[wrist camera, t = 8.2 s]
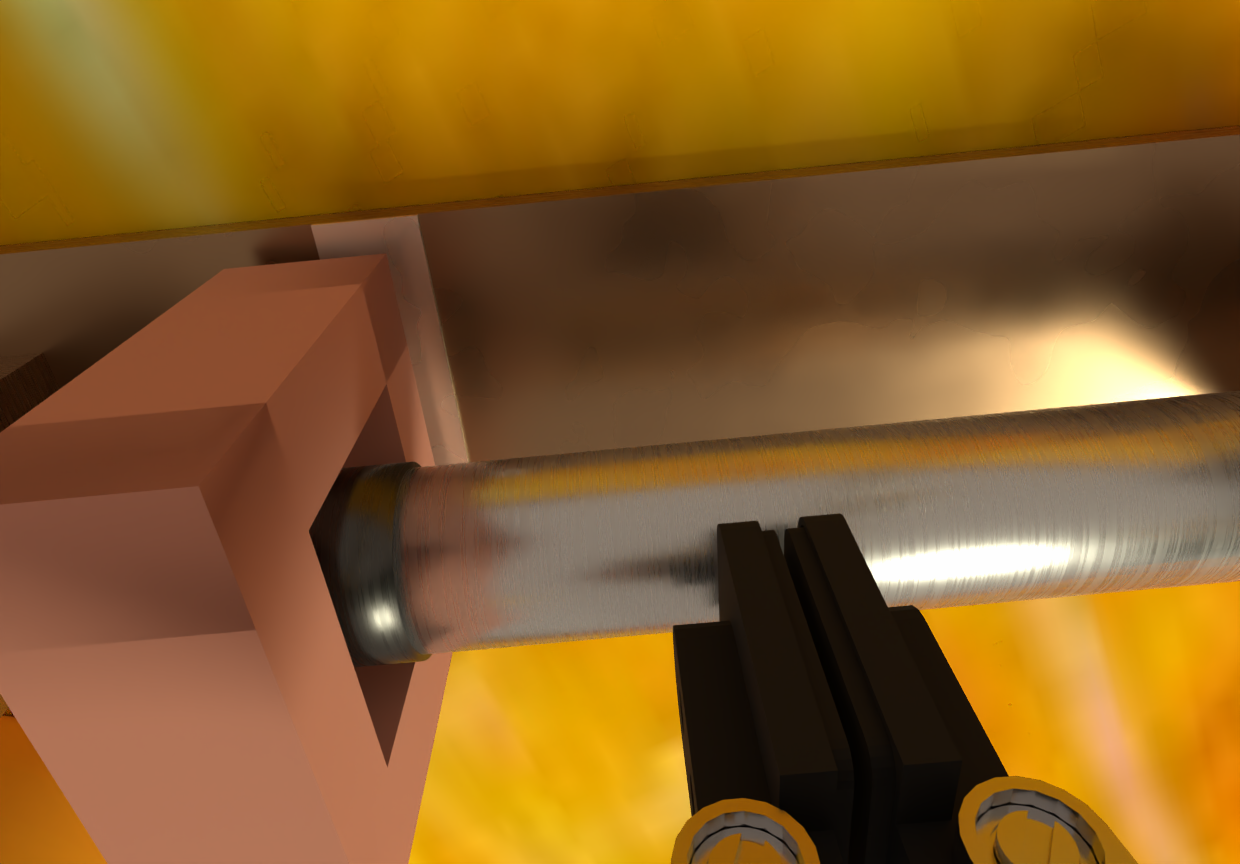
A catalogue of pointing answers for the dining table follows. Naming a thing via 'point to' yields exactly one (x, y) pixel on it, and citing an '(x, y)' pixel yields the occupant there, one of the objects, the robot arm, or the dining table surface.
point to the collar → (217, 579)
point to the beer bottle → (36, 808)
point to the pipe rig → (751, 382)
